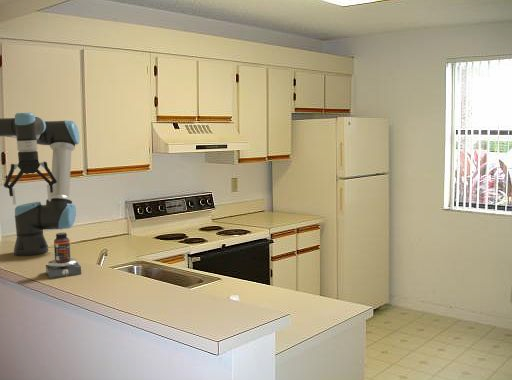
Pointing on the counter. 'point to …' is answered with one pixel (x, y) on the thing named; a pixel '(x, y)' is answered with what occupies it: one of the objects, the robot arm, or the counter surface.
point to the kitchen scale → (63, 268)
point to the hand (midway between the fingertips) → (32, 202)
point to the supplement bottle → (62, 248)
